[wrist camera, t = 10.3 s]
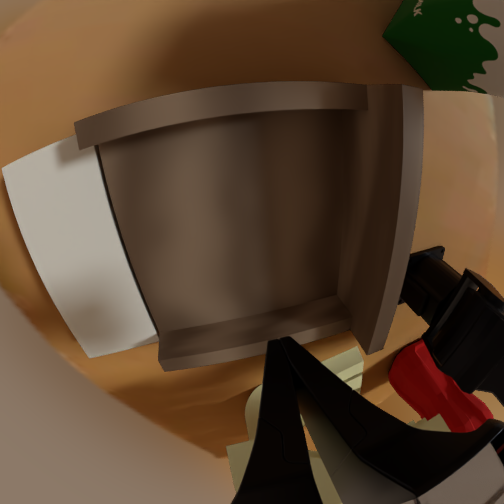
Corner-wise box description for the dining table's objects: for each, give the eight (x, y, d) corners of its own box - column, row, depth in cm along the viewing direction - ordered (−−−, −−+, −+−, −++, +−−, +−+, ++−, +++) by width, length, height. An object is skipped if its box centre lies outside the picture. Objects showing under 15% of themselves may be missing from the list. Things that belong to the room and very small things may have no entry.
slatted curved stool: (210, 353, 26) (244, 528, 11) (357, 299, 26) (455, 438, 11) (273, 439, 41) (298, 519, 26) (353, 408, 42) (390, 483, 27)
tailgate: (90, 129, 13) (1, 168, 11) (160, 340, 21) (89, 358, 19) (95, 128, 14) (10, 164, 12) (158, 329, 22) (90, 346, 20)
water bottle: (385, 352, 34) (468, 486, 12) (437, 327, 35) (518, 435, 14) (372, 384, 38) (435, 499, 17) (420, 361, 40) (485, 459, 18)
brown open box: (344, 89, 16) (422, 88, 9) (340, 290, 25) (382, 349, 18) (103, 119, 14) (45, 127, 7) (165, 328, 23) (164, 403, 16)
